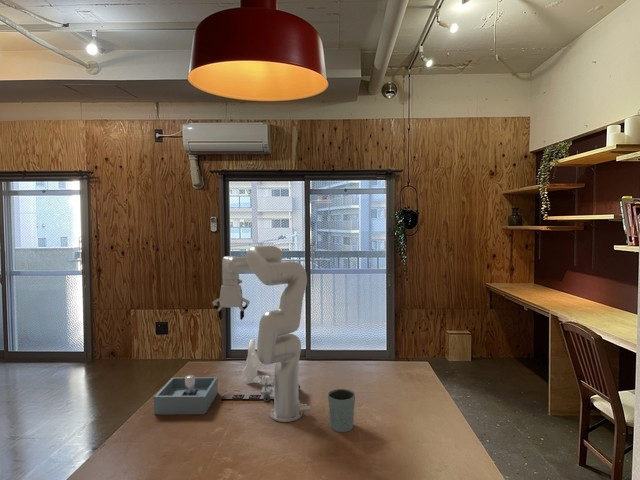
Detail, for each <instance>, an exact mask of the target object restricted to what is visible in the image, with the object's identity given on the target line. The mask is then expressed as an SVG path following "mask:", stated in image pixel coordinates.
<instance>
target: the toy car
mask: <svg viewBox="0 0 640 480" xmlns="http://www.w3.org/2000/svg"><path fill="white" fill-rule="evenodd" d="M258 378H259V380H258V381H257V383H258V384H263V385H264V386H262V388H261V390H260V391H261V392H260V395H263V397H262V399H263V401H264V402H270V401H271V400H274V385H273V384H270V383H269V384H268V380H270V376H269V375H262V376H260V375H258ZM300 390H301V385H300V384H299V391H300ZM266 399H267V400H266ZM300 399H301V398H300V395H299V400H300Z"/></svg>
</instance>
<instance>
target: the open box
mask: <svg viewBox="0 0 640 480" xmlns="http://www.w3.org/2000/svg"><path fill="white" fill-rule="evenodd" d="M218 382H219V381H218V377H217V376H215V377H214V376H213V377H212V376H211V377H209V376H206V377H205V376H204V377H199V376H198V377H196V376H195V396H185V377H182V376H181V377H171V378H170V379H169V380H168V381H167V383H166V384H164V385H163V387H162V388H160V390H159V391H158V392H157V393H156V394H155V395H154V396H153V414H154V415H206V414H205V413H207V412H208V410H210V409H209V408H210V407H211V405H212V404H211V403H213V402H214V400H215V398H216V396H217V395H218V393H219V391H218V390H219V387H218V384H219V383H218Z"/></svg>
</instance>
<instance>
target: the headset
mask: <svg viewBox="0 0 640 480" xmlns="http://www.w3.org/2000/svg"><path fill="white" fill-rule="evenodd" d="M247 348H248V349H247V357H246V365H245V367H243V369H242V374H243V377H244V378H245V380H246V381H245V382H246V384H247V385H249V384H252V383H254V379H256V377H258V369H257V368H258V367H259V366H260V363H261V362H260V361H259V359H258V356H257V350H256V342H255V339H254V338H251V339H250V340H249V343H248V347H247Z"/></svg>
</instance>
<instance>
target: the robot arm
mask: <svg viewBox="0 0 640 480" xmlns="http://www.w3.org/2000/svg"><path fill="white" fill-rule="evenodd" d="M282 260H283V253H282V249H280V248H279V247H277V246H274V245H257V246H252V247H251V248H249V249H248V250H247V252H246V255H244V256H234V255H228V256H227V255H226V256H223V257H222V263H221V264H222V267H221V269H222V285H221V286H220V295H219V298H216V299H214V300H213V301H212V302H211V303H212V305H213V307H214V309H215V310H217V313H218V314H217V315H218V317H217V318H219V320H223V317H224V315H223V308H239V310H240V311H239V312H240V313H239V317H240V318H239V319H240V320H241V321H242V320H244V318H245V310H246V309H247V308H248V306H249V305H250V300H248V299H247V298H245V297H243V289H242V285H241V284H242V283H243V280H242V279H240V274H247V273H248V274H249V273H253V274H254V275H255V277H257V278H258V280H259V281H260V282H261V283H262V284H263V285H265V286H268V287H269V286H278V285H280V286H281V285H285V284H286V285H287V286H286V287H285V288H284V289H283V292H282V293H281V296H280V300H279V307H278V309H274V310H270V311H267V312H264V314H263V315H262V316H261V318H260V319H259V325H258V332H257V333H258V334H257V344H256V352H257V356H258V359H259V361H260V363H261V364H263V365H267V366H268V365H269V366H270V365H273V364H275V366H274V369H273V387H274V399H273V400H274V401H273V403H274V404H273V405H274V406H273V408H272V409H271V410H270V412H269V415H270V418H271V419H272V420H274V421H276V422H279V423H281V422H282V423H290V422H295V421H297V420H299V419H300V418H301V417H302V416H303V412H311V406H310V405H308V403H304V404H303V403H300V401H301V400H300V399H299V396H300V395H299V394H300V393H299V391H300V390H299V385H300V384H299V367H300V366H299V364H300V356H301V351H302V342H301V340H300V338H299V337H298V336H297V335H296V334H293V333H295V332H296V331H298V330H299V327H300V325H301V318H302V312H303V311H302V310H303V303H304V302H303V300H304V296H305V292H306V289H307V284H308V277H307V272H306V269H305V267H304V266H303V264H301V263H300V262H298V261H282ZM218 302H219V305H218ZM243 303H245V305H243Z"/></svg>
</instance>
